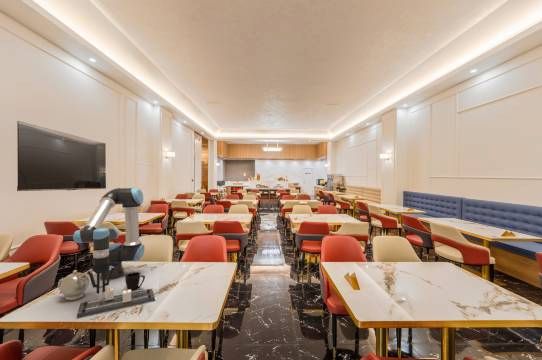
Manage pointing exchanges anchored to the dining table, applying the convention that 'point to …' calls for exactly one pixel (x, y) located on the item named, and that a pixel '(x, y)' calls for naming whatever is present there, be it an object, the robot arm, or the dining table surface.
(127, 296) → the fader
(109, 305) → the console
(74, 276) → the teapot
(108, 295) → the fader
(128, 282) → the mug
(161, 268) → the dining table surface
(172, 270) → the dining table surface
